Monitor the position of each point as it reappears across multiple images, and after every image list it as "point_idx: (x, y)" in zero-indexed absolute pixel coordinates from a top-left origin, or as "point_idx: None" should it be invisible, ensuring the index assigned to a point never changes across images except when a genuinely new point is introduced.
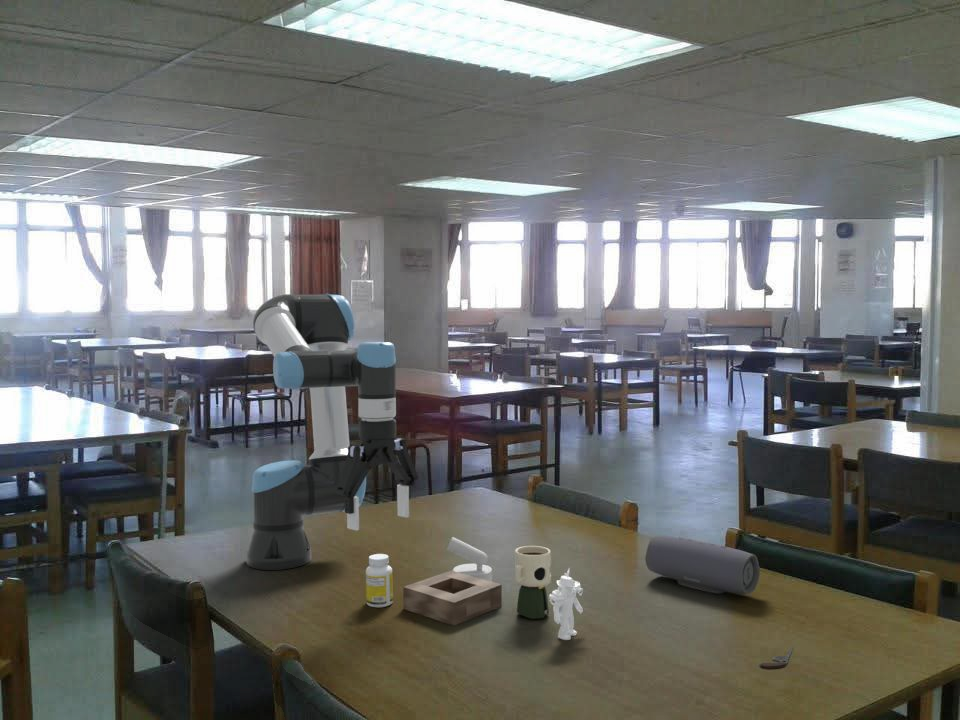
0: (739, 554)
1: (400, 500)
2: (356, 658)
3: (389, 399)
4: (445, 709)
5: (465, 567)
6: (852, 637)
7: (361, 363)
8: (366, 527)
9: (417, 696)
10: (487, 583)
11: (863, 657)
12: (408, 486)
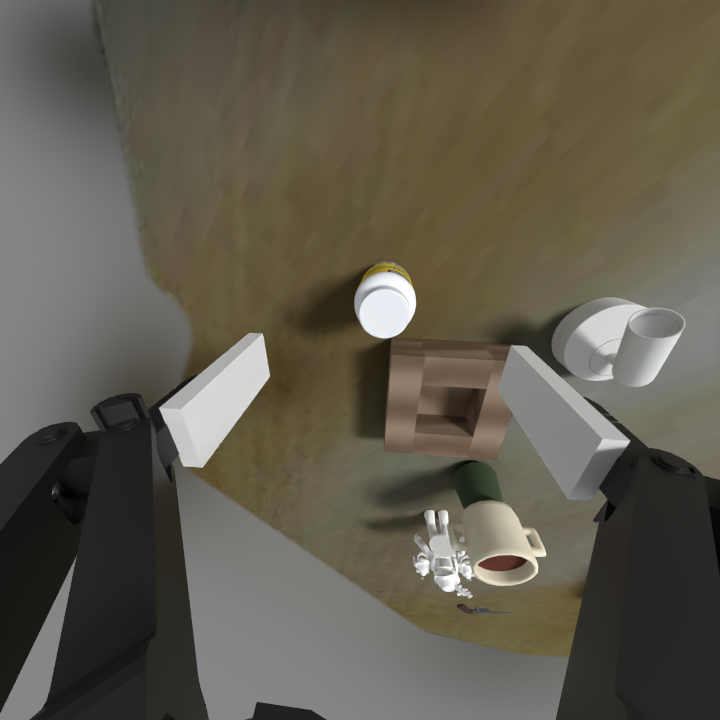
0: None
1: (538, 399)
2: None
3: None
4: (243, 505)
5: (620, 326)
6: (554, 630)
7: None
8: None
9: (237, 483)
10: (489, 444)
11: (514, 633)
12: (586, 499)
